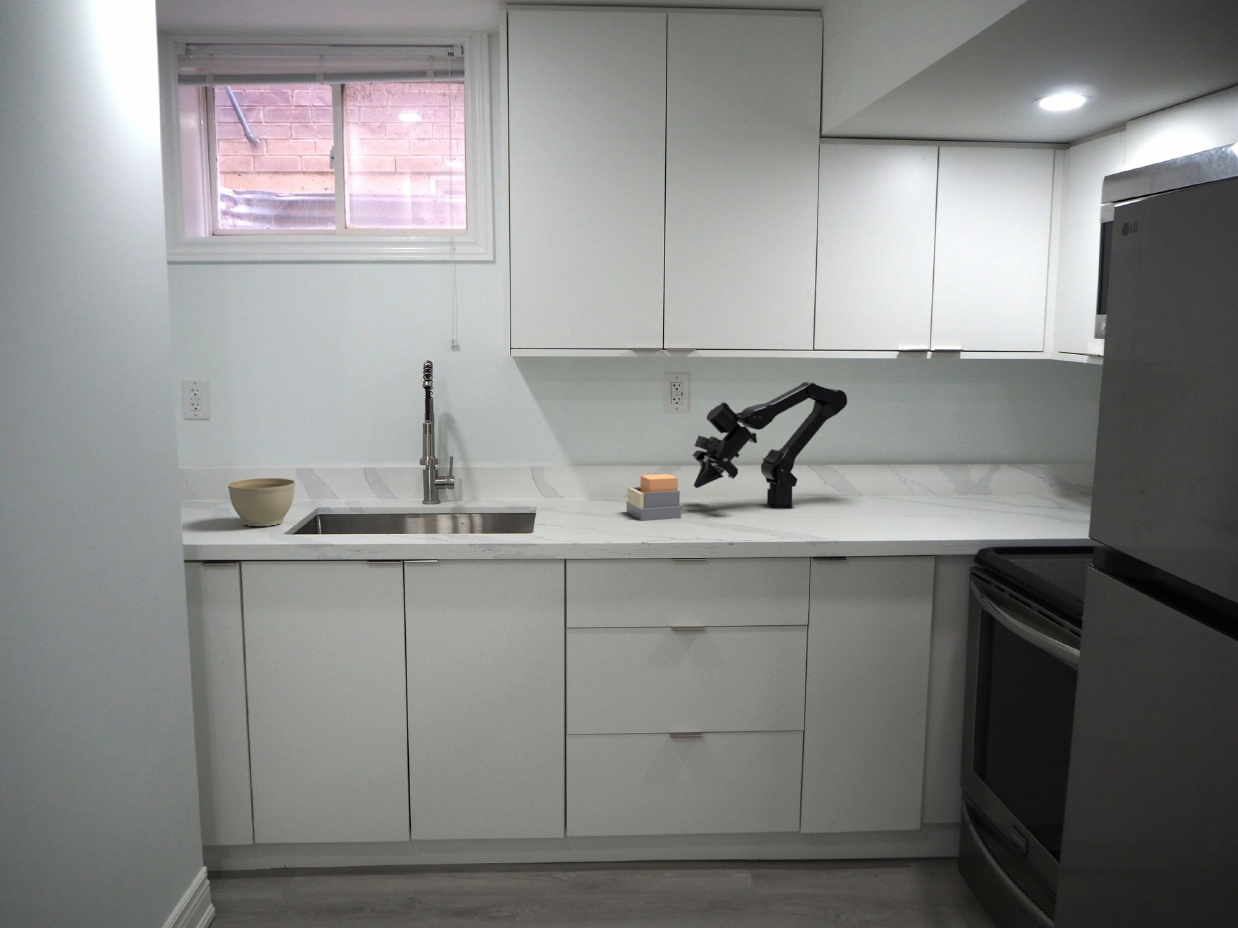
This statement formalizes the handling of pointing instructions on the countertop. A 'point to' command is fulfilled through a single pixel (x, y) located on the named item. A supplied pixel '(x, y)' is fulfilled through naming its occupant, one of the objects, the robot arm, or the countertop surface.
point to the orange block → (658, 483)
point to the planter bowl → (262, 500)
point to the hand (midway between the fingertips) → (695, 486)
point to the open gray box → (653, 504)
